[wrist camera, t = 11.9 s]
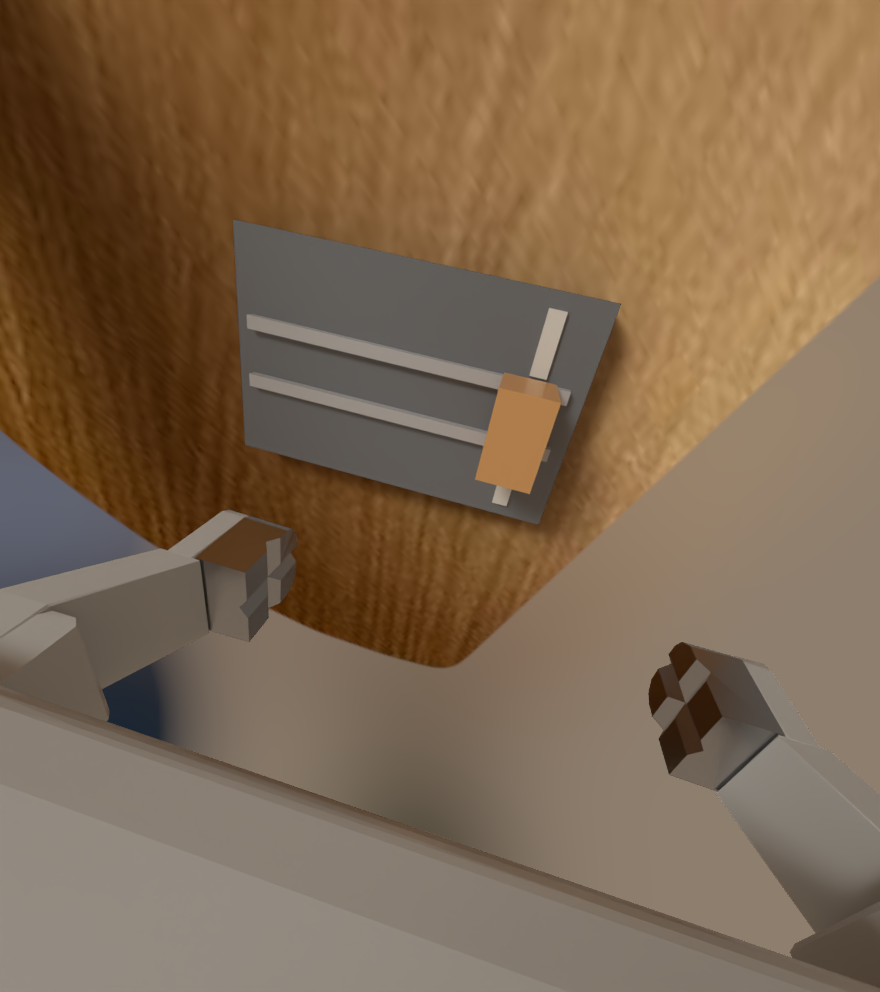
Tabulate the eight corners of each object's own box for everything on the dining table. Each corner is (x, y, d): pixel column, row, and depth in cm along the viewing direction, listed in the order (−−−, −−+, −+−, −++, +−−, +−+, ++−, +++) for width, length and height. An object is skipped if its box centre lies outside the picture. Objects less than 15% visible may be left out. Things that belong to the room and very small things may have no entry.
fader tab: (484, 448, 26) (474, 479, 22) (505, 369, 23) (498, 387, 19) (530, 460, 25) (529, 494, 21) (556, 381, 23) (561, 402, 19)
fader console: (268, 432, 32) (240, 447, 29) (263, 226, 25) (225, 217, 22) (538, 504, 30) (538, 529, 27) (611, 301, 23) (623, 304, 20)
